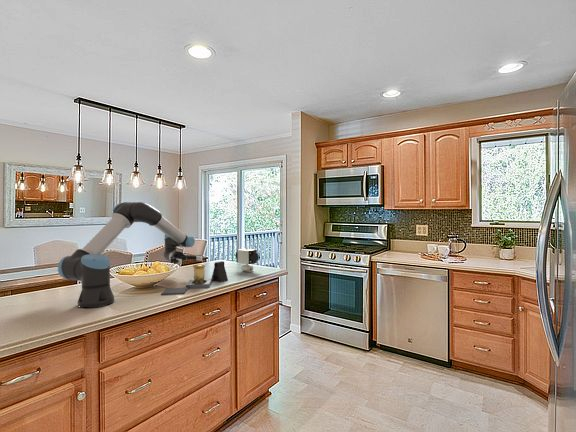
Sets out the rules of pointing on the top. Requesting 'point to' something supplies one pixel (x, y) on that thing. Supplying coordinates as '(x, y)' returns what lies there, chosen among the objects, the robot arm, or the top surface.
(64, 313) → the top surface
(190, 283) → the housing
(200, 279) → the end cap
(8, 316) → the top surface
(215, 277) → the phone stand
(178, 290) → the mat
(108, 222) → the robot arm
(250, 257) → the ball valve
